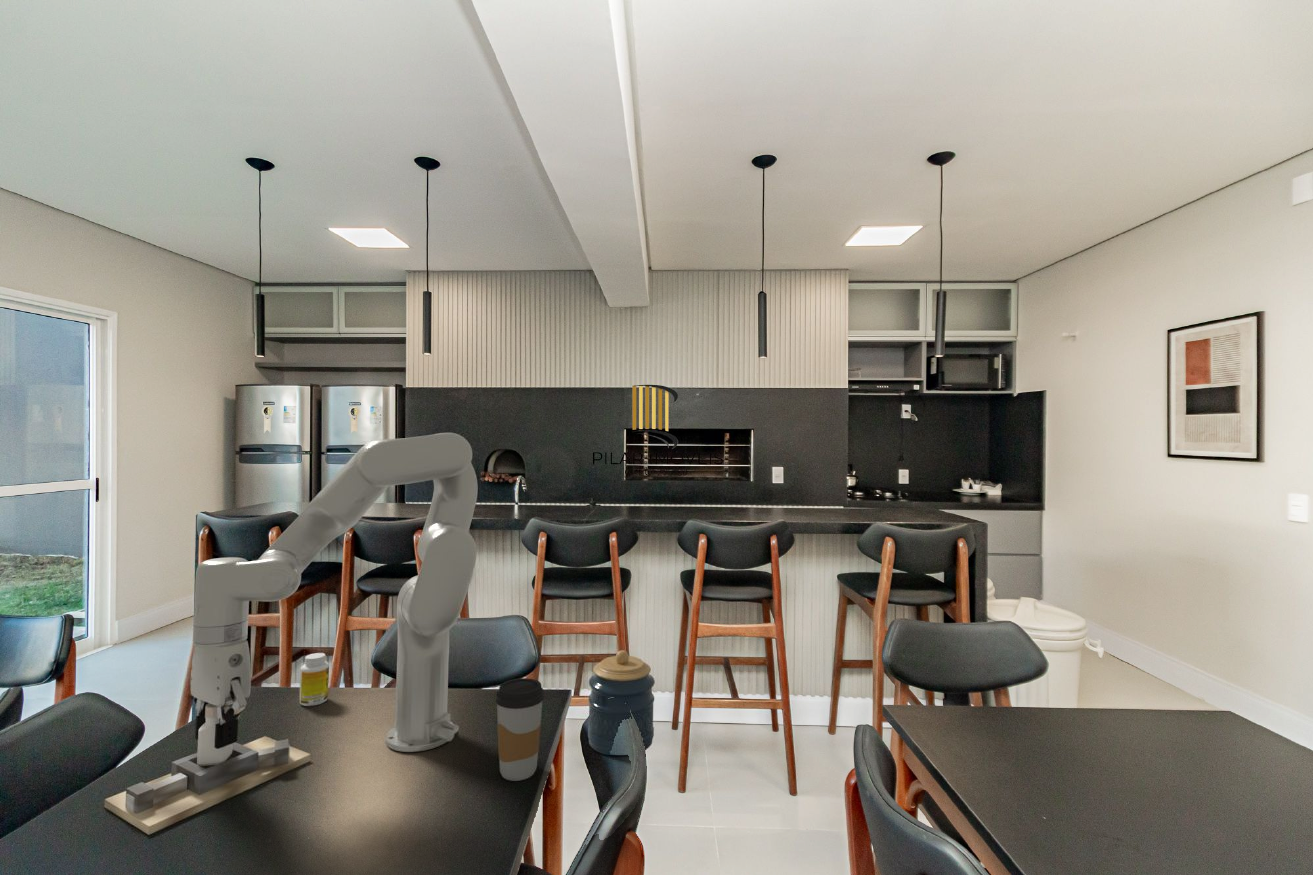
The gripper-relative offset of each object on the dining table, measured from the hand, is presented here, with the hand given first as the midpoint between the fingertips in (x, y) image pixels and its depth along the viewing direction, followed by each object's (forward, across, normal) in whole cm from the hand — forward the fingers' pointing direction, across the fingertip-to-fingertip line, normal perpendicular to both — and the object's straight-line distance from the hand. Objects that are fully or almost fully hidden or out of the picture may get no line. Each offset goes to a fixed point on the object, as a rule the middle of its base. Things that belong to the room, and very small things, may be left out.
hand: (216, 739), depth 100 cm
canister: (+7, -52, -46) cm, 70 cm away
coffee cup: (+7, -42, -28) cm, 51 cm away
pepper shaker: (+4, 0, 0) cm, 4 cm away
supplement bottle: (+7, +17, -28) cm, 34 cm away
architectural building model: (+7, 0, 0) cm, 7 cm away
